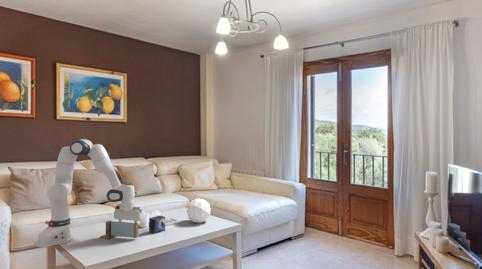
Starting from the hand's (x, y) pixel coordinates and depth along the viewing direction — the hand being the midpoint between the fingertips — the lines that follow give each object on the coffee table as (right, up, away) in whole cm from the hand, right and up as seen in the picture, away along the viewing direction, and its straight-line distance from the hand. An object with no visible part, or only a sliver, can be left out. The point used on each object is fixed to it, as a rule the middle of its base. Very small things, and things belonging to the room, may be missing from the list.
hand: (128, 226), depth 231 cm
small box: (+17, -8, +15) cm, 24 cm away
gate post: (-14, -8, +2) cm, 16 cm away
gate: (-2, -7, -1) cm, 7 cm away
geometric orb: (+44, -8, +40) cm, 60 cm away
